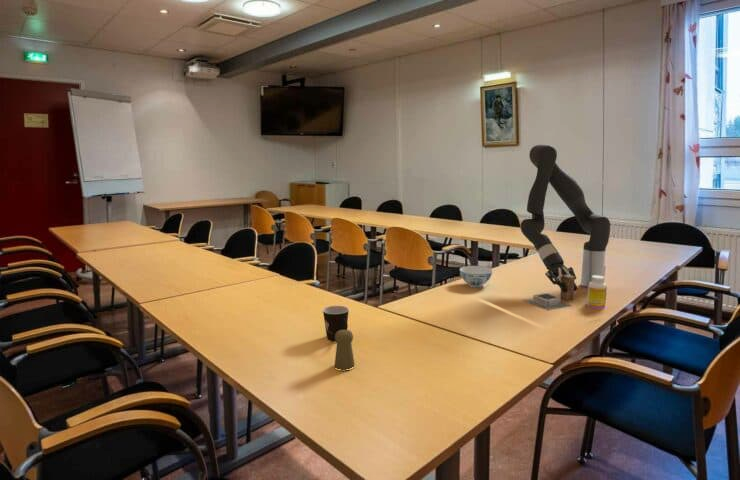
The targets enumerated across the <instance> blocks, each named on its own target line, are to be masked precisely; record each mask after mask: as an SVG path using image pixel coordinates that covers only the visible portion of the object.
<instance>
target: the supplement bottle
mask: <svg viewBox="0 0 740 480" xmlns="http://www.w3.org/2000/svg"><path fill="white" fill-rule="evenodd" d="M605 278H606V277H603V276H598V275H593V276H592V278H591V279H592V282H590V283H589V284H588V287H587V299H586V306H588V307H590V308H593V309H603V308H606V301H607V289H608V286H607V284H606V283H605V280H606V279H605Z"/></svg>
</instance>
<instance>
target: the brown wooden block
mask: <svg viewBox="0 0 740 480" xmlns="http://www.w3.org/2000/svg"><path fill="white" fill-rule="evenodd" d="M575 276H576V275H575ZM575 276H571V275H562V280H563V282H562V283H564V284H565V286H566V287H567V289H568V291H567V292H566V293H563V291H562V290H561V289H560V295H559V297H560V298H561V301H562V300H563V301H566V302H570V301H574V292H575V291H574V282H575V280H576V279H575Z"/></svg>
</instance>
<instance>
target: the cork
mask: <svg viewBox="0 0 740 480" xmlns="http://www.w3.org/2000/svg"><path fill="white" fill-rule="evenodd" d="M353 339H354V335H353V332H352V331H351V330H348V329H347V330H340V331H338V332H337V333H336V334H335V340H336V342H335V343H336V348H335V349H336V350H335V357H334V366H335V368H337V369H341V370H346V369H350V368H352V367H354V365H355V366H356V364H355V357H354V352H353V344H352V342H353ZM335 368H334V369H335Z"/></svg>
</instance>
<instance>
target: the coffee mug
mask: <svg viewBox="0 0 740 480" xmlns="http://www.w3.org/2000/svg"><path fill="white" fill-rule="evenodd" d="M349 311H350V310H349V308H348V307H347V306H344V305H331V306H330V305H329V306H327V307H324V308H323V309H322V313H323V319H324V320H323V321H324V328H325V333H326V339H327V341H329V340H330V342H333V341H336V340H335V334H336V333H337V332H338V331H340V330H348V325H349V324H348V319H349Z"/></svg>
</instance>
